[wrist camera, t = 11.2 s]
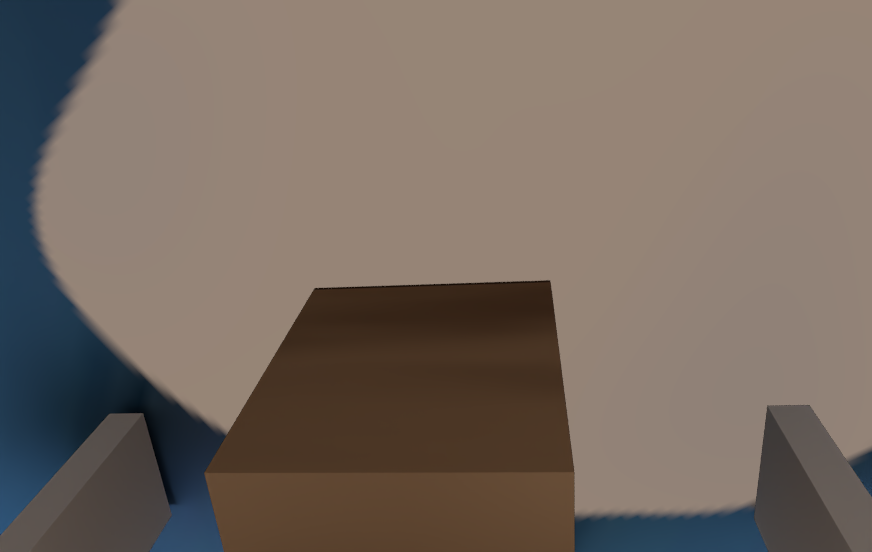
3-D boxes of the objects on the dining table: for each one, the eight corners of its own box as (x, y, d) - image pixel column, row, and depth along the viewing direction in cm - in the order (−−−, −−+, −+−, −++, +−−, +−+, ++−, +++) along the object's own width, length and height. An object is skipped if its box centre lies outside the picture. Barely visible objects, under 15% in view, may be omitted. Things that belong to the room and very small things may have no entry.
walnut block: (314, 287, 14) (204, 472, 9) (550, 280, 13) (573, 472, 8) (358, 562, 17) (293, 822, 12) (555, 565, 16) (575, 838, 11)
